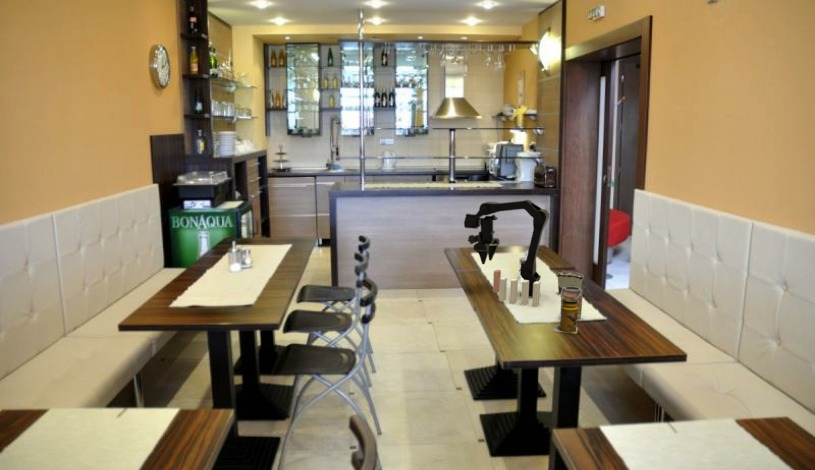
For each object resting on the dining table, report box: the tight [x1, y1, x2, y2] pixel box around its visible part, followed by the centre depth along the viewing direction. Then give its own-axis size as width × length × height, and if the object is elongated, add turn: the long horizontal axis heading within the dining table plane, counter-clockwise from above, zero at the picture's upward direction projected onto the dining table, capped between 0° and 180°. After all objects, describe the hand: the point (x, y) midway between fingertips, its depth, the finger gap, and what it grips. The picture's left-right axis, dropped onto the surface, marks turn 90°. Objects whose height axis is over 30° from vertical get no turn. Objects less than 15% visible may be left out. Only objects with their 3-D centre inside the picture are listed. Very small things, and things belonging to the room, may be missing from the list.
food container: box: [556, 271, 585, 296], centre depth 283 cm, size 12×6×10 cm, turn 65°
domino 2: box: [498, 276, 508, 303], centre depth 272 cm, size 2×4×10 cm, turn 152°
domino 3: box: [509, 278, 519, 304], centre depth 269 cm, size 2×4×10 cm, turn 152°
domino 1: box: [492, 269, 502, 294], centre depth 285 cm, size 2×4×10 cm, turn 152°
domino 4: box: [520, 279, 529, 306], centre depth 267 cm, size 2×4×10 cm, turn 152°
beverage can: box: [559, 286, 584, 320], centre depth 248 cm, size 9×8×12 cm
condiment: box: [553, 298, 578, 334], centre depth 233 cm, size 7×8×12 cm
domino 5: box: [532, 281, 541, 308], centre depth 265 cm, size 2×4×10 cm, turn 152°
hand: (486, 262), depth 287 cm, fingers open, 9 cm apart
